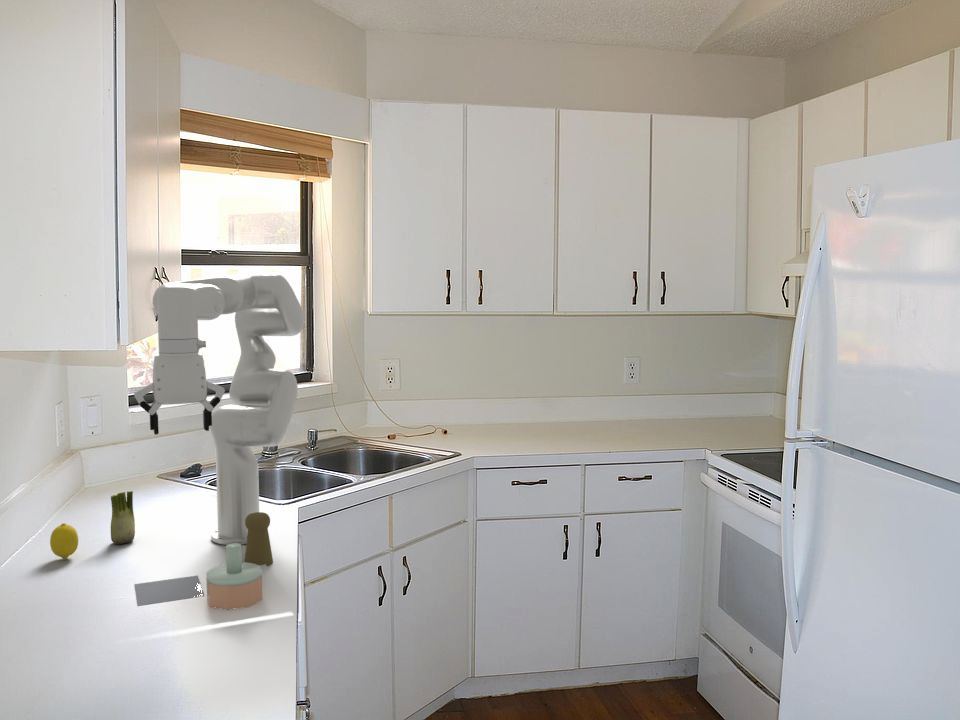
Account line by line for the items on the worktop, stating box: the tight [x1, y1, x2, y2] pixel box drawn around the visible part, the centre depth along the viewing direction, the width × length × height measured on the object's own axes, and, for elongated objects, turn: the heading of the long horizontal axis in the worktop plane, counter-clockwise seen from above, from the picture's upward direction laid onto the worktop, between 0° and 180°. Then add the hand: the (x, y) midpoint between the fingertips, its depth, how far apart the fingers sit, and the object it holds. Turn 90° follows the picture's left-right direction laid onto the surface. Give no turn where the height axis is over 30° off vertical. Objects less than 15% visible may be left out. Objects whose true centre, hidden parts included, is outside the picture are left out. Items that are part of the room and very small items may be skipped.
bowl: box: [206, 575, 263, 610], centre depth 160 cm, size 10×10×5 cm
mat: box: [134, 575, 205, 607], centre depth 165 cm, size 12×12×1 cm
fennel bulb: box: [110, 490, 136, 545], centre depth 195 cm, size 6×5×12 cm
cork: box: [244, 511, 274, 567], centre depth 181 cm, size 6×6×11 cm
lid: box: [206, 543, 263, 586], centre depth 160 cm, size 10×10×6 cm
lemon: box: [49, 522, 79, 560], centre depth 184 cm, size 6×6×8 cm
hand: (181, 431), depth 171 cm, fingers open, 9 cm apart
